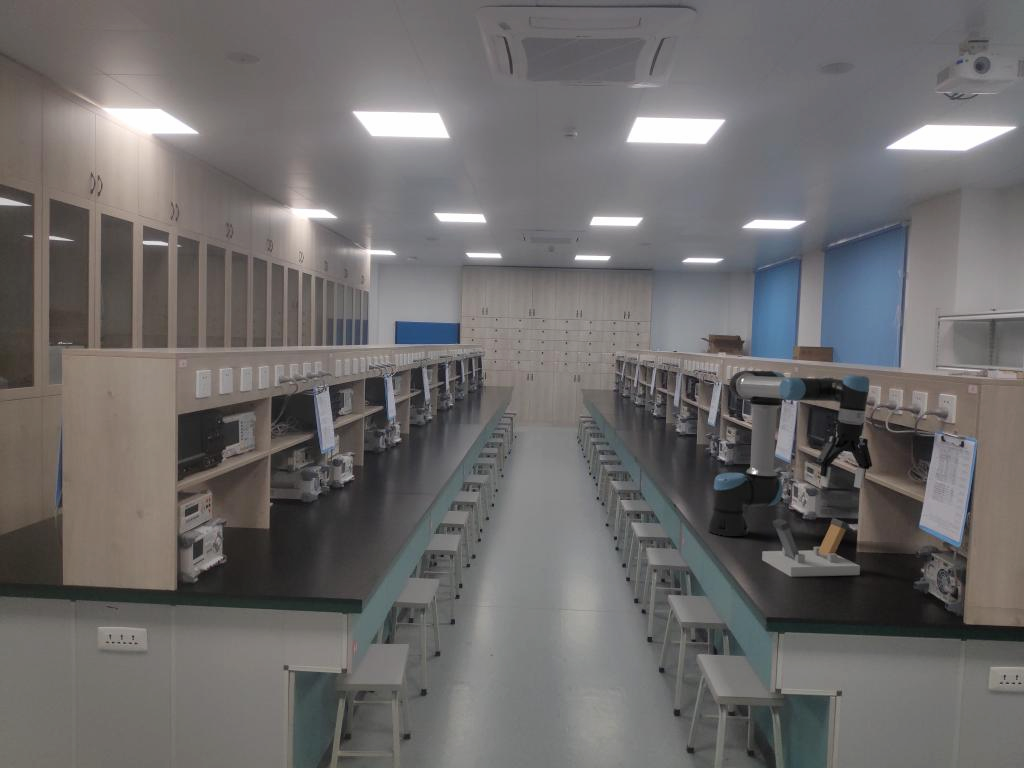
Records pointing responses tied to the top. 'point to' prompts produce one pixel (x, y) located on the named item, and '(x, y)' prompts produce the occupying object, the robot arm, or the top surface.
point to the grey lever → (786, 537)
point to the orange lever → (833, 537)
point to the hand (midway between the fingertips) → (841, 487)
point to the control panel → (810, 563)
